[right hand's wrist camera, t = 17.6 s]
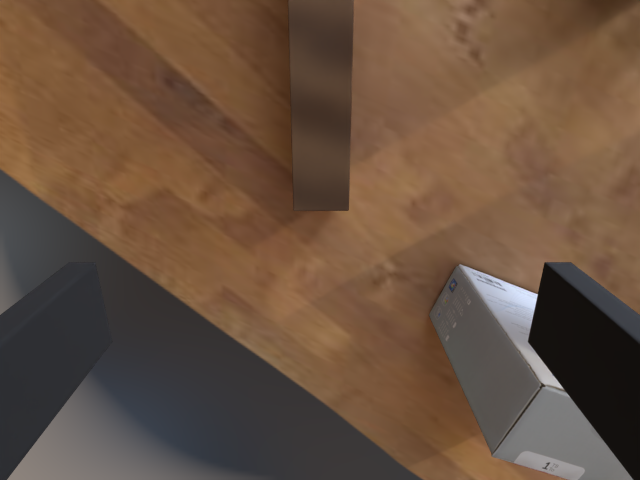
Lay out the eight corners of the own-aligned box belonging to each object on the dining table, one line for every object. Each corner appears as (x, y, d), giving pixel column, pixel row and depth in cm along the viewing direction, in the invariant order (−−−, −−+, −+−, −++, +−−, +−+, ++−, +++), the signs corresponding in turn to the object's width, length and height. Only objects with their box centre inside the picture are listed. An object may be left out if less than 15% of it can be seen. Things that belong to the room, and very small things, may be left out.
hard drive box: (425, 315, 51) (486, 456, 32) (456, 261, 48) (542, 380, 30) (537, 355, 53) (655, 509, 34) (573, 305, 50) (720, 443, 32)
